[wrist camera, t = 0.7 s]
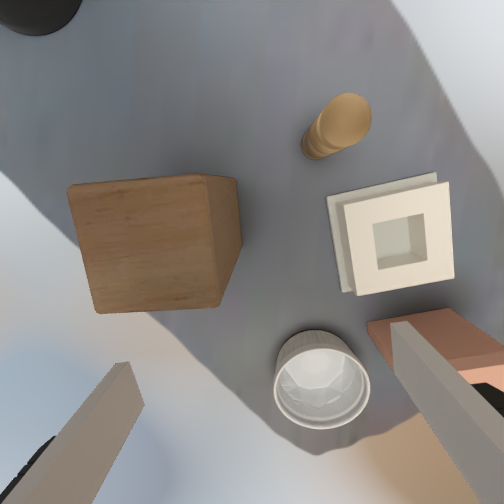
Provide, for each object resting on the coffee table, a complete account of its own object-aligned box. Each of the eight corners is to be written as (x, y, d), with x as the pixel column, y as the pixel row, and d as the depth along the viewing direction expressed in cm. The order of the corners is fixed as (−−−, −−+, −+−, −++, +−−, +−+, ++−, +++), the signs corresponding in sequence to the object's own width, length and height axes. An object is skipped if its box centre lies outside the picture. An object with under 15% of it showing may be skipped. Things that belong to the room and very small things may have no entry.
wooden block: (165, 183, 38) (61, 185, 19) (236, 177, 38) (203, 172, 18) (176, 252, 41) (93, 316, 21) (242, 248, 40) (220, 310, 21)
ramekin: (369, 373, 44) (387, 408, 37) (296, 405, 46) (301, 443, 40) (331, 308, 42) (344, 332, 35) (256, 345, 44) (255, 374, 37)
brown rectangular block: (362, 292, 41) (433, 375, 23) (446, 276, 39) (589, 351, 22) (368, 333, 42) (439, 440, 25) (449, 319, 41) (585, 421, 24)
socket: (325, 196, 37) (333, 198, 33) (431, 172, 36) (457, 170, 31) (340, 290, 41) (350, 304, 36) (439, 271, 39) (463, 283, 34)
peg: (298, 131, 36) (317, 100, 22) (329, 123, 35) (368, 87, 22) (304, 162, 37) (326, 151, 23) (334, 155, 36) (374, 139, 23)
